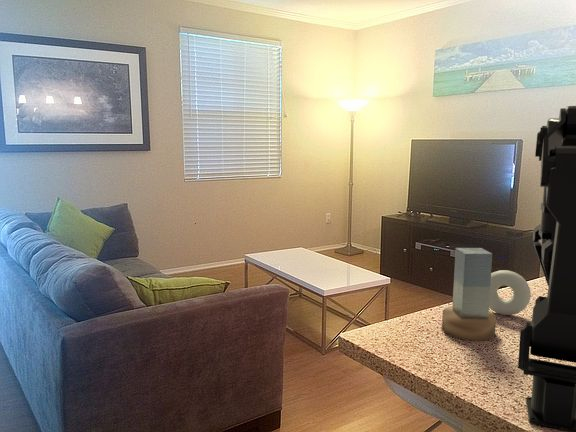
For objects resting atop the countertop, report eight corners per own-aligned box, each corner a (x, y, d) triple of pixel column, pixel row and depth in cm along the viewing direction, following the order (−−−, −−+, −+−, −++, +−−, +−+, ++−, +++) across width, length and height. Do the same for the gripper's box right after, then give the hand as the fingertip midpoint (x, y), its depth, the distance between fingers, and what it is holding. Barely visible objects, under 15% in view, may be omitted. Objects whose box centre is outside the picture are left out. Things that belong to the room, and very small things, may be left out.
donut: (529, 316, 103) (533, 271, 102) (528, 321, 100) (532, 275, 99) (480, 308, 108) (483, 265, 107) (478, 312, 105) (481, 269, 104)
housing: (488, 319, 92) (492, 253, 90) (461, 318, 92) (465, 253, 90) (477, 309, 97) (481, 247, 95) (452, 309, 97) (455, 247, 95)
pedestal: (495, 344, 89) (496, 326, 88) (439, 336, 93) (440, 318, 92) (494, 325, 98) (495, 309, 97) (443, 318, 102) (444, 303, 101)
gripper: (643, 209, 63) (631, 321, 65) (610, 195, 80) (601, 284, 82) (548, 205, 67) (540, 311, 69) (535, 192, 84) (529, 278, 86)
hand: (555, 295), depth 76 cm, fingers open, 9 cm apart
